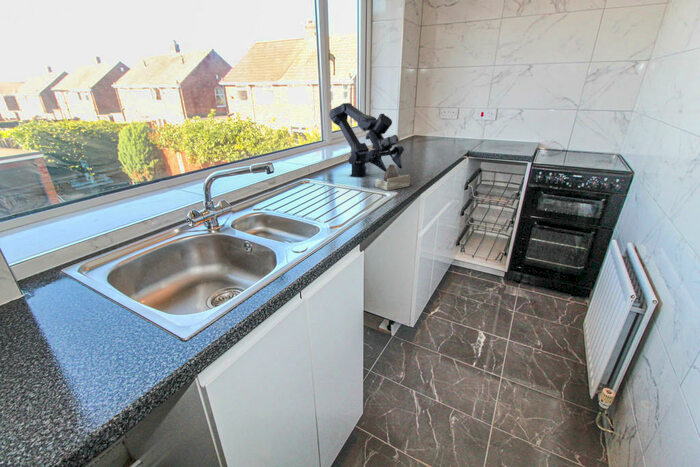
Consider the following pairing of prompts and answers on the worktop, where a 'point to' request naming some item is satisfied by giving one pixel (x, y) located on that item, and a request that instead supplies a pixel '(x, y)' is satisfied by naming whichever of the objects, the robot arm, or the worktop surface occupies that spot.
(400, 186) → the shoe shelf
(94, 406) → the worktop surface
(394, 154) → the robot arm
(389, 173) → the vase
